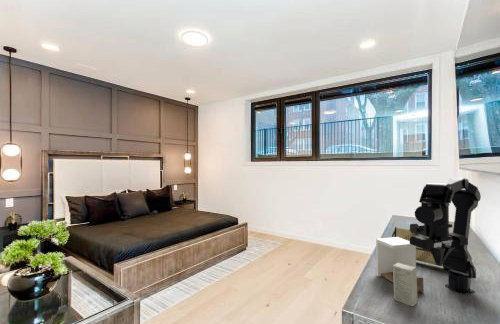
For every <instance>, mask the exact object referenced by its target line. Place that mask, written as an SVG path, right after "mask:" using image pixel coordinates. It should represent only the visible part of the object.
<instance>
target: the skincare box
mask: <svg viewBox="0 0 500 324" xmlns="http://www.w3.org/2000/svg"><path fill="white" fill-rule="evenodd" d="M417 277H418V276H417V266H416V267H413V266H409V265H406V264H402V263H398V262H397V263H396V264H394V265H393V282H392V283H393V300H395V301H398V302H400V303H403V304H405V305H407V306H411V307H414V306H416V304H417V303H418V301H419V300H418V292H417Z"/></svg>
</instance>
